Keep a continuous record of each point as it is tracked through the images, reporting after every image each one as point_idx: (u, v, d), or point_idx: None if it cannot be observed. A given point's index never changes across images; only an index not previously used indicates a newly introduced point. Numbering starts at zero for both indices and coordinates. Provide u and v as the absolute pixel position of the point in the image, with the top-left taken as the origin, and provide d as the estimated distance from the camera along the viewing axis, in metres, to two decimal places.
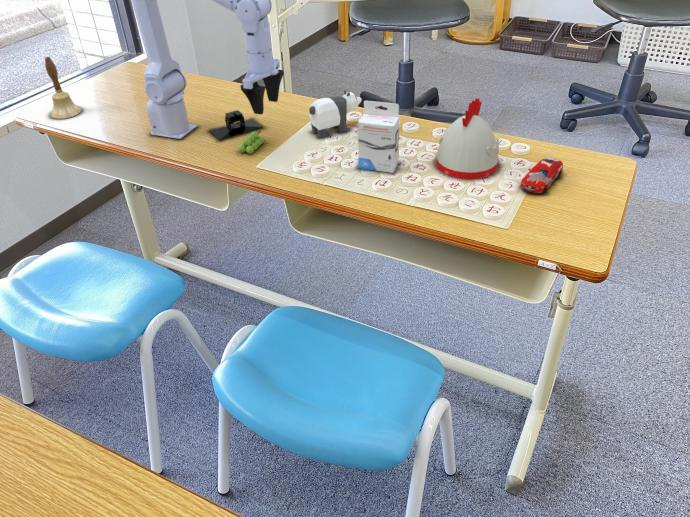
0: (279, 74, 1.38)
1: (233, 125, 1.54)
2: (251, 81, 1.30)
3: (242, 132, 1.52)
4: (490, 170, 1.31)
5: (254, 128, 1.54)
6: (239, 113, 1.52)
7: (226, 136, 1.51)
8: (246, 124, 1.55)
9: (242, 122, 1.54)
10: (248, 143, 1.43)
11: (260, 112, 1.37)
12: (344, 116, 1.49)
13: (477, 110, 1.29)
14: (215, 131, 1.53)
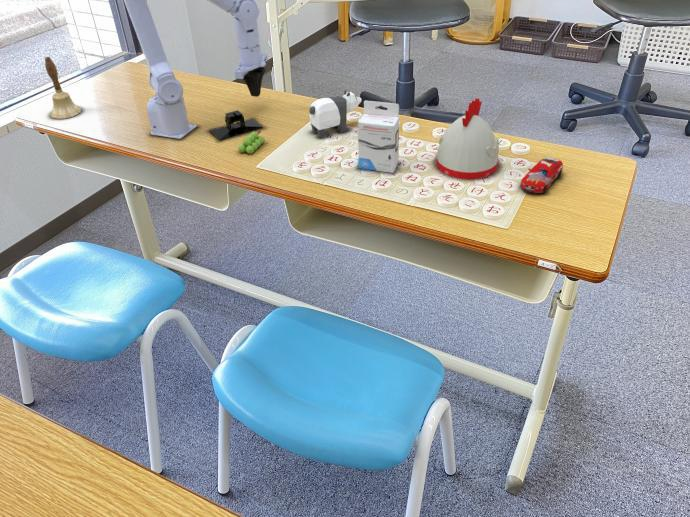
0: (261, 71, 1.56)
1: (233, 125, 1.54)
2: (242, 72, 1.50)
3: (242, 132, 1.52)
4: (490, 170, 1.31)
5: (254, 128, 1.54)
6: (239, 113, 1.52)
7: (226, 136, 1.51)
8: (246, 124, 1.55)
9: (242, 122, 1.54)
10: (248, 143, 1.43)
11: (256, 94, 1.60)
12: (344, 116, 1.49)
13: (477, 110, 1.29)
14: (215, 131, 1.53)
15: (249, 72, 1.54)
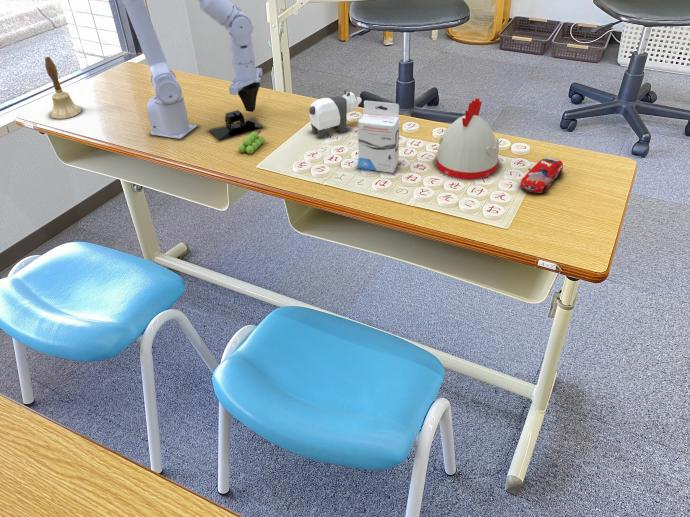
0: (255, 86, 1.55)
1: (233, 125, 1.54)
2: (236, 88, 1.49)
3: (242, 132, 1.52)
4: (490, 170, 1.31)
5: (254, 128, 1.54)
6: (239, 113, 1.52)
7: (226, 136, 1.51)
8: (246, 124, 1.55)
9: (242, 122, 1.54)
10: (248, 143, 1.43)
11: (251, 110, 1.59)
12: (344, 116, 1.49)
13: (477, 110, 1.29)
14: (215, 131, 1.53)
15: (244, 88, 1.53)
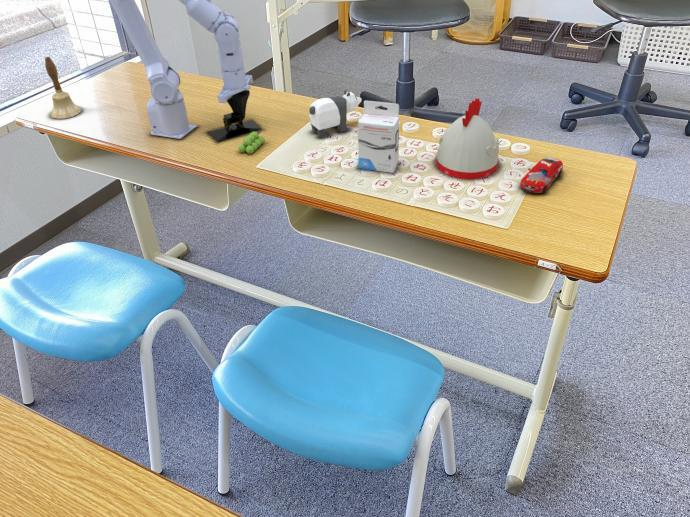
0: (245, 94, 1.51)
1: (231, 126, 1.53)
2: (225, 96, 1.45)
3: (240, 134, 1.52)
4: (490, 170, 1.31)
5: (252, 129, 1.53)
6: (237, 114, 1.51)
7: (224, 137, 1.50)
8: (244, 125, 1.55)
9: (240, 123, 1.53)
10: (248, 143, 1.43)
11: None
12: (344, 116, 1.49)
13: (477, 110, 1.29)
14: (213, 133, 1.53)
15: (233, 95, 1.49)
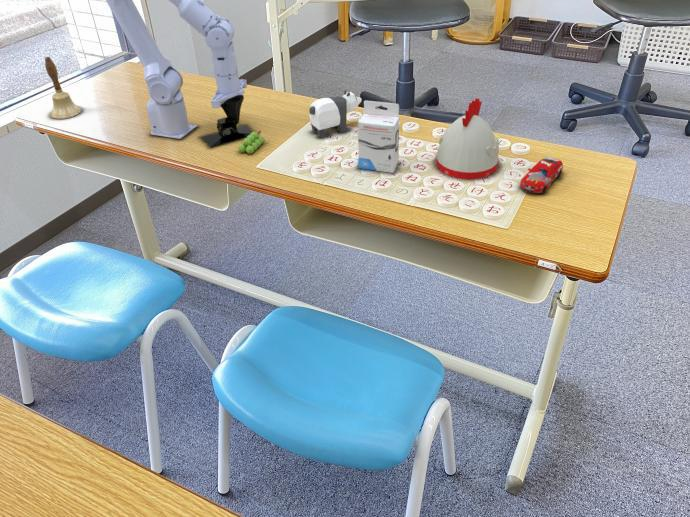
0: (239, 99, 1.48)
1: (225, 131, 1.51)
2: (218, 101, 1.43)
3: (234, 139, 1.50)
4: (490, 170, 1.31)
5: (246, 135, 1.51)
6: (231, 119, 1.49)
7: (218, 142, 1.48)
8: (238, 131, 1.52)
9: (234, 128, 1.51)
10: (248, 143, 1.43)
11: None
12: (344, 116, 1.49)
13: (477, 110, 1.29)
14: (206, 138, 1.50)
15: (227, 100, 1.47)
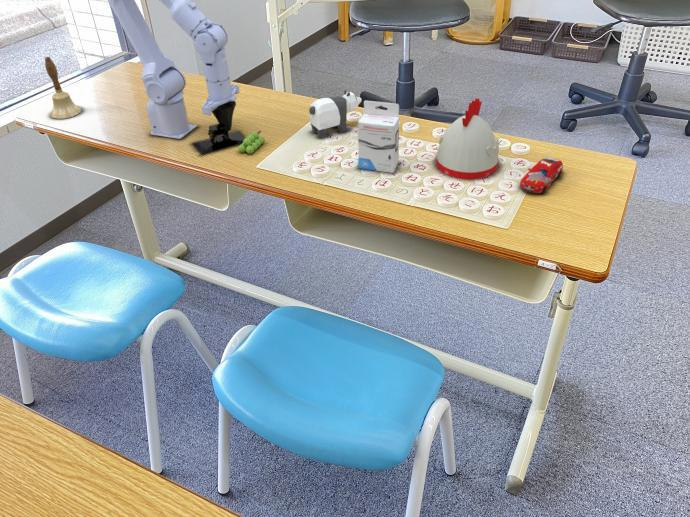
0: (231, 105, 1.45)
1: (217, 138, 1.48)
2: (210, 108, 1.40)
3: (225, 146, 1.47)
4: (490, 170, 1.31)
5: (238, 142, 1.48)
6: (223, 126, 1.46)
7: (209, 150, 1.45)
8: (230, 137, 1.49)
9: (226, 135, 1.48)
10: (248, 143, 1.43)
11: (227, 129, 1.49)
12: (344, 116, 1.49)
13: (477, 110, 1.29)
14: (197, 145, 1.47)
15: (218, 106, 1.44)
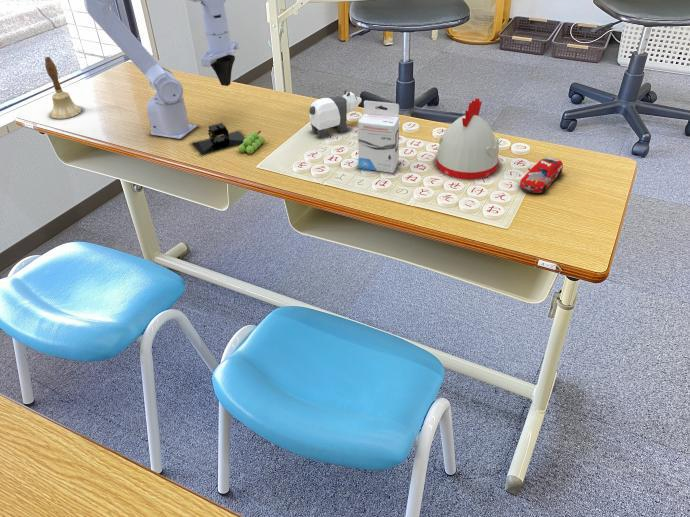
0: (230, 59, 1.50)
1: (217, 138, 1.48)
2: (209, 59, 1.44)
3: (225, 146, 1.47)
4: (490, 170, 1.31)
5: (238, 142, 1.48)
6: (223, 126, 1.46)
7: (209, 149, 1.45)
8: (230, 137, 1.49)
9: (226, 135, 1.48)
10: (248, 143, 1.43)
11: (226, 84, 1.54)
12: (344, 116, 1.49)
13: (477, 110, 1.29)
14: (197, 145, 1.47)
15: (217, 60, 1.48)
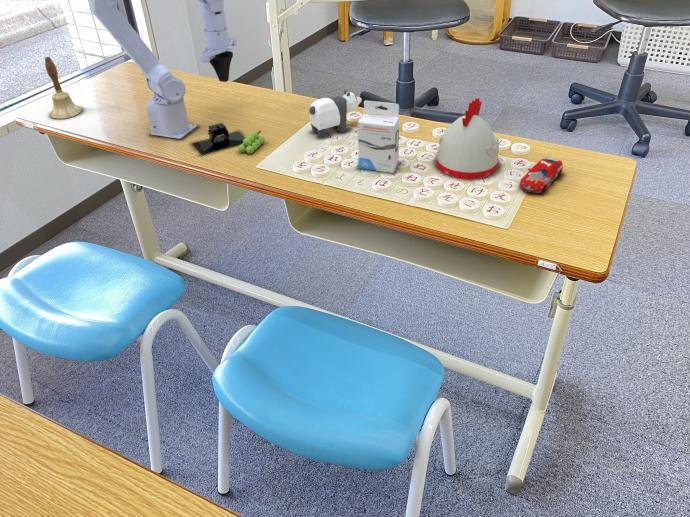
0: (228, 55, 1.53)
1: (217, 138, 1.48)
2: (208, 56, 1.47)
3: (225, 146, 1.47)
4: (490, 170, 1.31)
5: (238, 142, 1.48)
6: (223, 126, 1.46)
7: (209, 149, 1.45)
8: (230, 137, 1.49)
9: (226, 135, 1.48)
10: (248, 143, 1.43)
11: (224, 80, 1.56)
12: (344, 116, 1.49)
13: (477, 110, 1.29)
14: (197, 145, 1.48)
15: (216, 56, 1.51)
